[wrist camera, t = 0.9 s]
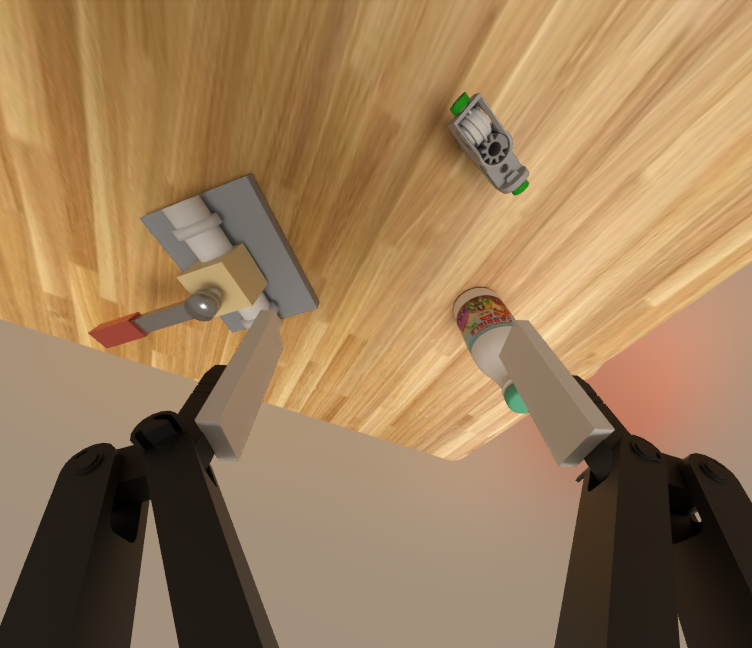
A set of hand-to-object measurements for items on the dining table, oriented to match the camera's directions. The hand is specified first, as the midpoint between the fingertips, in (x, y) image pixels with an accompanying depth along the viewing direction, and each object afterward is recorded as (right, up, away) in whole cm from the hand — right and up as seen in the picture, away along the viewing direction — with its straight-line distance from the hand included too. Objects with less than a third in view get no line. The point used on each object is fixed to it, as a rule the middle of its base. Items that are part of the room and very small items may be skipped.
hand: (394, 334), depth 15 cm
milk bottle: (+16, +4, +31) cm, 35 cm away
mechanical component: (+10, +22, +17) cm, 30 cm away
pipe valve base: (-21, +10, +26) cm, 35 cm away
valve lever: (-28, +2, +18) cm, 33 cm away
